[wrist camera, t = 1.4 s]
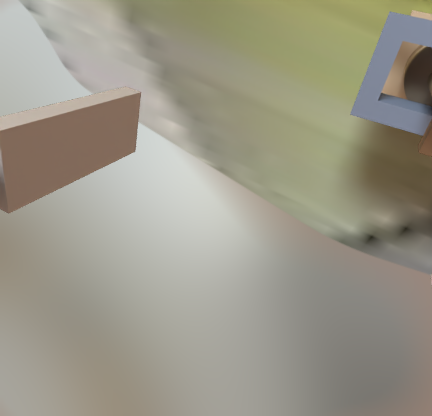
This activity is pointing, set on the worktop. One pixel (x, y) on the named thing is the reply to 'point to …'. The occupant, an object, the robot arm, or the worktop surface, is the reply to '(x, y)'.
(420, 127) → the ring
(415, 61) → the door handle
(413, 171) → the worktop surface
